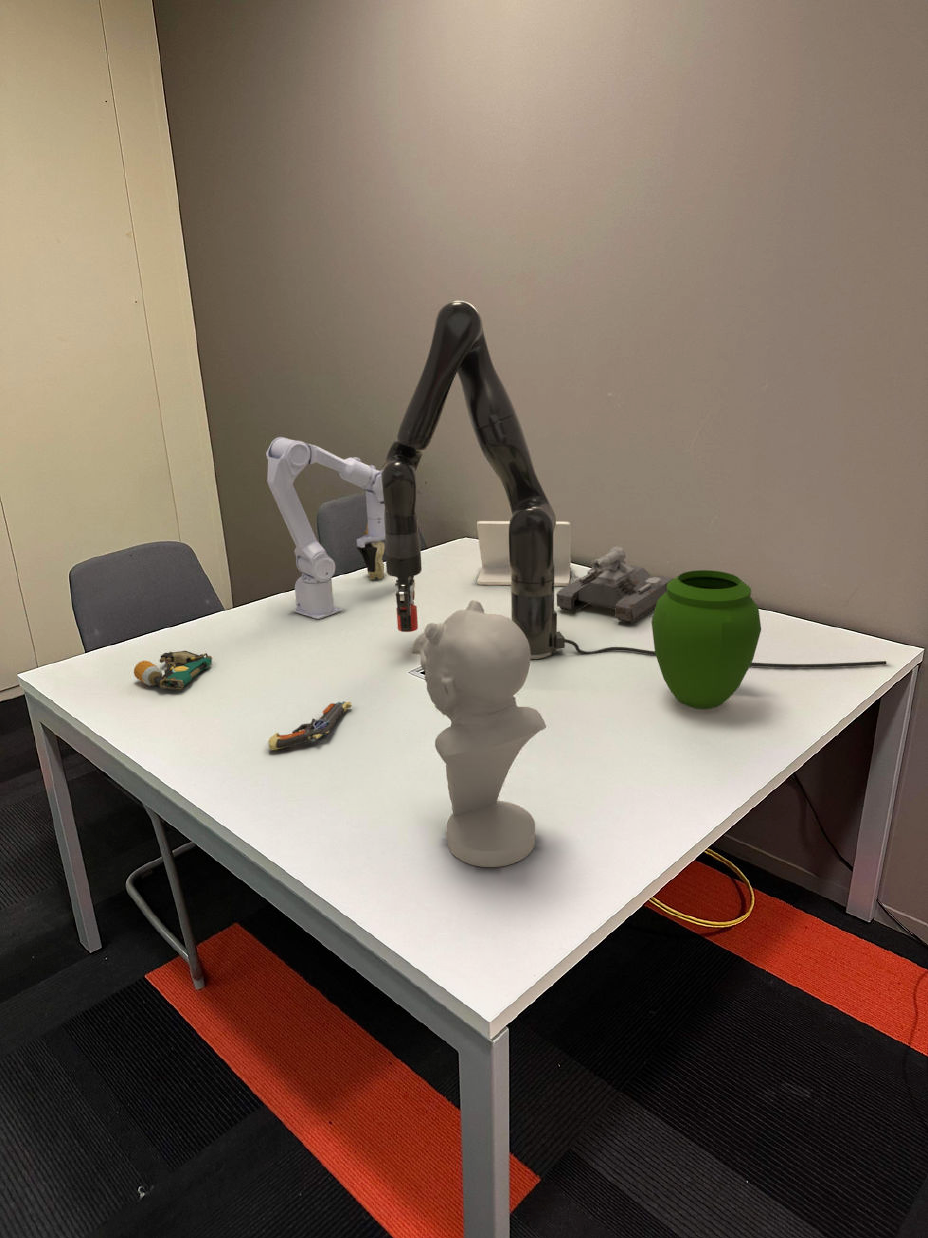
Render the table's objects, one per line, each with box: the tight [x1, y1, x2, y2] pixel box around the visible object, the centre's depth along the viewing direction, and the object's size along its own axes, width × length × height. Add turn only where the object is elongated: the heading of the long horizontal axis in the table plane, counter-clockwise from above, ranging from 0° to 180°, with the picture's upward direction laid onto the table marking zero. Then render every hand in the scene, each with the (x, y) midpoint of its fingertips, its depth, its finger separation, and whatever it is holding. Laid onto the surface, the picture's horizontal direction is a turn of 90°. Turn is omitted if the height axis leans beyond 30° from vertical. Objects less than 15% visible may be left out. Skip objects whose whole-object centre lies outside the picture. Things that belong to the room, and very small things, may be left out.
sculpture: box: [363, 523, 385, 580], centre depth 238 cm, size 6×7×15 cm
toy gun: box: [267, 700, 353, 751], centre depth 156 cm, size 3×19×10 cm
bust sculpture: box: [410, 599, 547, 868], centre depth 121 cm, size 16×24×35 cm
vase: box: [651, 569, 762, 710], centre depth 158 cm, size 20×20×24 cm
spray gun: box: [133, 650, 213, 690], centre depth 180 cm, size 4×17×15 cm
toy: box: [556, 546, 675, 624], centre depth 212 cm, size 25×20×15 cm
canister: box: [396, 604, 419, 633], centre depth 187 cm, size 4×4×5 cm
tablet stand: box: [476, 520, 572, 587], centre depth 236 cm, size 18×25×17 cm
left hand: (381, 567), depth 223 cm, fingers open, 7 cm apart
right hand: (407, 626), depth 187 cm, fingers closed on canister, 4 cm apart
